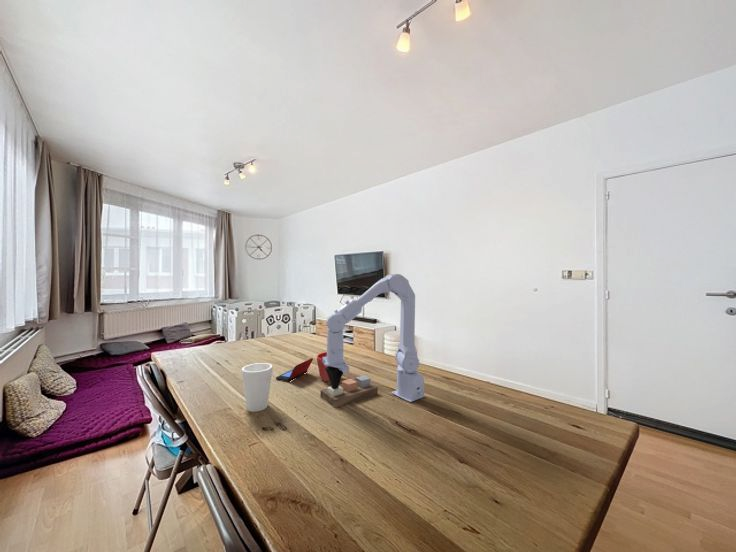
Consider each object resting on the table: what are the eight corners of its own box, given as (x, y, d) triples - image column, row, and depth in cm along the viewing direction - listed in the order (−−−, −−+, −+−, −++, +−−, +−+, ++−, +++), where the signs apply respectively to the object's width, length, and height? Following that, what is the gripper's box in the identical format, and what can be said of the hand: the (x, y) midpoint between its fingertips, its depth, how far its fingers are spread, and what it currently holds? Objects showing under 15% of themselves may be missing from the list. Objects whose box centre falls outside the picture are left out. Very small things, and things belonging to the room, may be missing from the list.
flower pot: (341, 383, 114) (341, 359, 114) (314, 383, 114) (314, 358, 114) (344, 374, 124) (344, 351, 124) (319, 373, 125) (319, 351, 125)
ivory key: (343, 396, 98) (343, 388, 98) (333, 400, 96) (333, 391, 96) (337, 393, 101) (337, 384, 101) (327, 396, 99) (327, 387, 99)
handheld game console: (294, 371, 129) (294, 354, 129) (314, 374, 124) (314, 357, 124) (274, 380, 118) (274, 362, 118) (295, 384, 113) (295, 365, 113)
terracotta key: (357, 390, 102) (357, 381, 102) (347, 393, 99) (347, 384, 99) (350, 386, 105) (350, 378, 105) (341, 389, 103) (341, 381, 103)
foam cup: (235, 409, 91) (235, 369, 91) (258, 398, 100) (258, 361, 99) (255, 416, 87) (255, 374, 87) (278, 404, 95) (278, 365, 95)
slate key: (370, 386, 106) (370, 378, 106) (361, 388, 103) (361, 380, 103) (363, 383, 109) (363, 375, 109) (355, 385, 106) (355, 377, 106)
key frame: (377, 393, 104) (377, 386, 104) (335, 407, 93) (335, 400, 93) (361, 385, 112) (361, 378, 112) (320, 397, 101) (320, 390, 101)
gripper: (315, 346, 102) (314, 384, 102) (336, 355, 90) (336, 398, 90) (332, 343, 106) (331, 379, 106) (354, 351, 95) (354, 392, 95)
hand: (335, 388), depth 99 cm, fingers closed, pressing on ivory key
